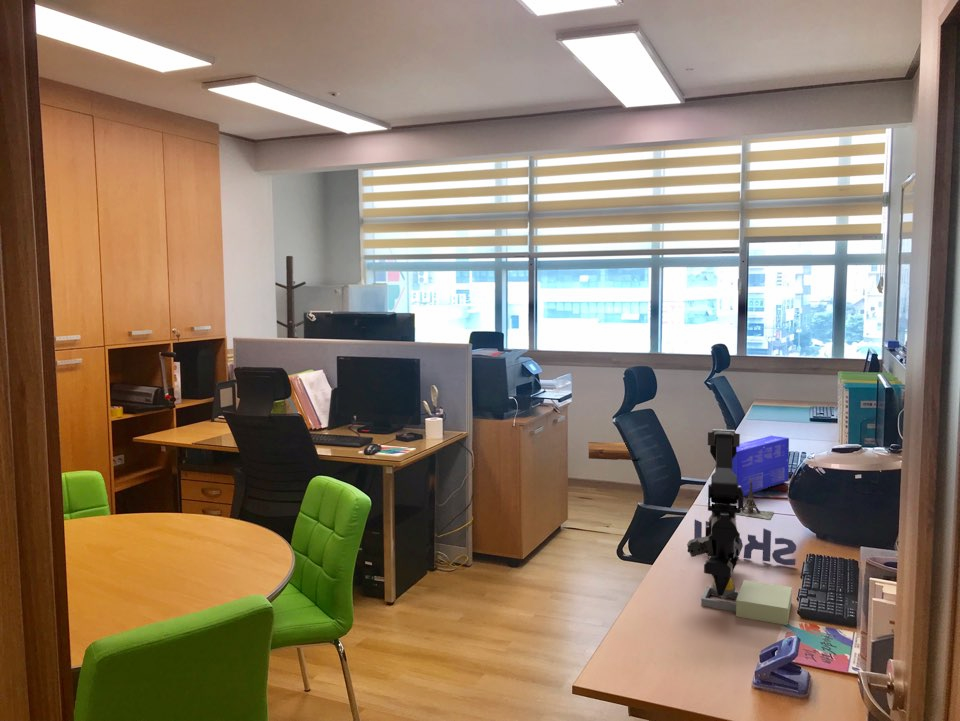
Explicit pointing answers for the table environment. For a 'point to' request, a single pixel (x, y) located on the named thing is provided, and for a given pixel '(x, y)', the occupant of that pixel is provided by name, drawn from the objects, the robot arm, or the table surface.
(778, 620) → the green box with handle
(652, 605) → the table surface
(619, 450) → the brown wooden slab
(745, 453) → the toner cartridge box
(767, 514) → the eiffel tower figurine
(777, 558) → the signage
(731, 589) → the yellow cone shape
